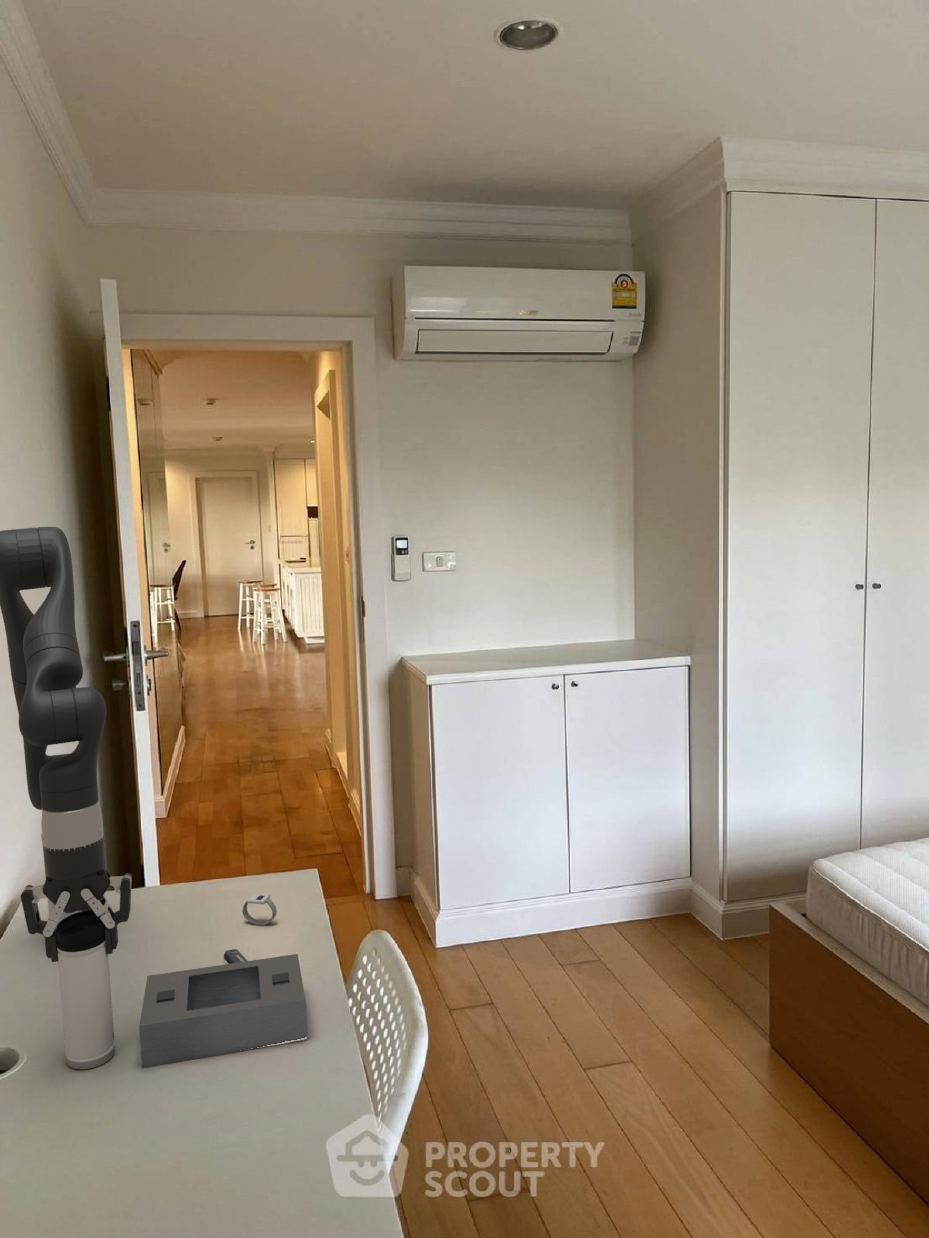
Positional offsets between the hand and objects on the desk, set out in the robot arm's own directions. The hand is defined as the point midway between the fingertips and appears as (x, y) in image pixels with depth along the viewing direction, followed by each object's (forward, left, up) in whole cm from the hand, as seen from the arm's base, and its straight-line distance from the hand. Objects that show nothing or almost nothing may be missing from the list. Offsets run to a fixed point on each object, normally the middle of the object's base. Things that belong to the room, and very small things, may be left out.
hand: (83, 954), depth 126 cm
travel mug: (0, 0, -15) cm, 15 cm away
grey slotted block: (-2, +18, -15) cm, 23 cm away
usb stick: (-20, +20, -15) cm, 32 cm away
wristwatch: (-35, +24, -15) cm, 45 cm away
